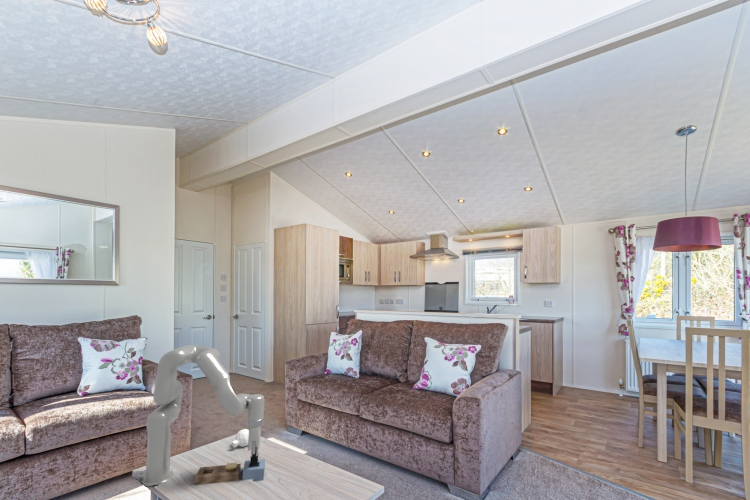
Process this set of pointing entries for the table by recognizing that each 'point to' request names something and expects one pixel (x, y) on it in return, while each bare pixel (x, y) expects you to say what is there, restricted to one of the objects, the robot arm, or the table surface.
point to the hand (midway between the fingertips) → (254, 462)
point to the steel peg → (257, 464)
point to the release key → (231, 466)
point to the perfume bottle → (241, 438)
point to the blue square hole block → (254, 471)
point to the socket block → (216, 474)
